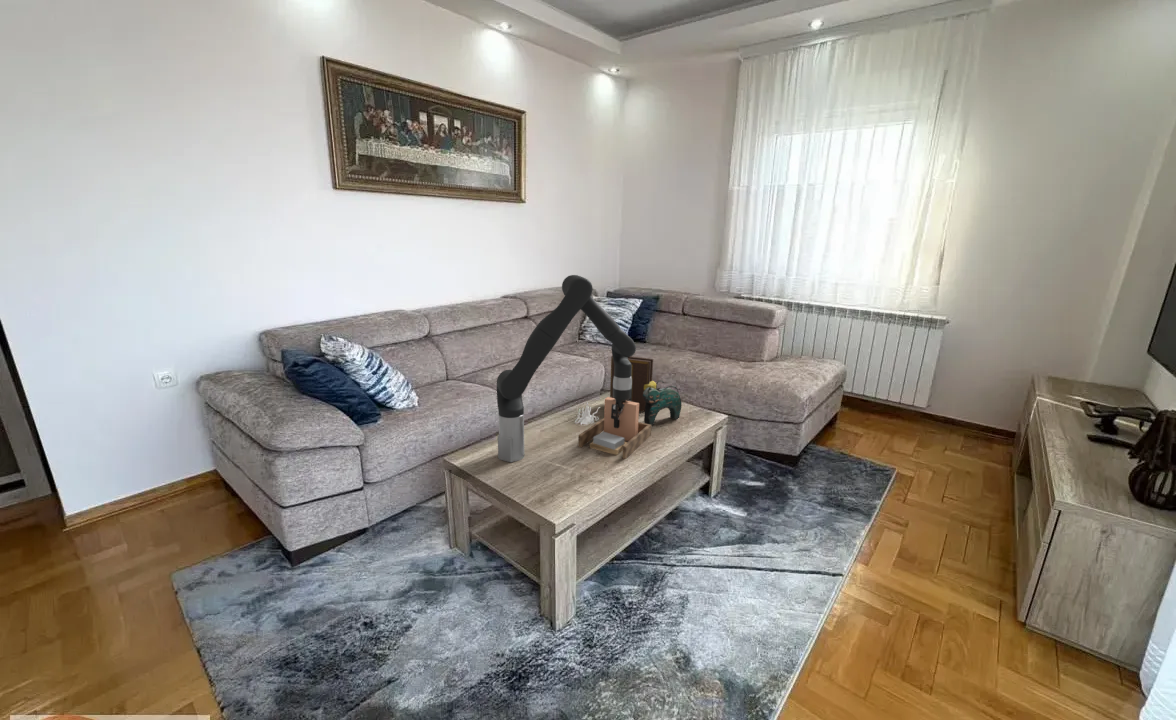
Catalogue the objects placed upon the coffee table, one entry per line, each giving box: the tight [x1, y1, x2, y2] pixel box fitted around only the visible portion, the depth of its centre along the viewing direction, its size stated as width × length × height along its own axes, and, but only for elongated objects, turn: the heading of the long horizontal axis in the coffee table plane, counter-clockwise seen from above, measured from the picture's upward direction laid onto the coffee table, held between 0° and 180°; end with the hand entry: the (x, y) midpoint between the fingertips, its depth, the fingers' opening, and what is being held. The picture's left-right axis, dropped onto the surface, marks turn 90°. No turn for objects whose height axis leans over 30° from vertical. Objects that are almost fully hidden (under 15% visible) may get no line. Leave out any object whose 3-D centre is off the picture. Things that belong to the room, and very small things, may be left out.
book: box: [609, 355, 657, 412], centre depth 233 cm, size 22×8×25 cm, turn 68°
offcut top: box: [592, 431, 626, 450], centre depth 192 cm, size 7×10×2 cm
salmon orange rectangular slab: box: [603, 396, 640, 442], centre depth 201 cm, size 3×14×16 cm, turn 61°
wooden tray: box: [577, 417, 653, 460], centre depth 199 cm, size 25×20×5 cm
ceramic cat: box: [643, 379, 683, 426], centre depth 218 cm, size 20×6×20 cm, turn 119°
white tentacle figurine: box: [574, 401, 601, 426], centre depth 219 cm, size 9×12×9 cm
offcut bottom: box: [589, 441, 628, 456], centre depth 194 cm, size 9×12×2 cm
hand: (621, 424), depth 201 cm, fingers open, 8 cm apart
